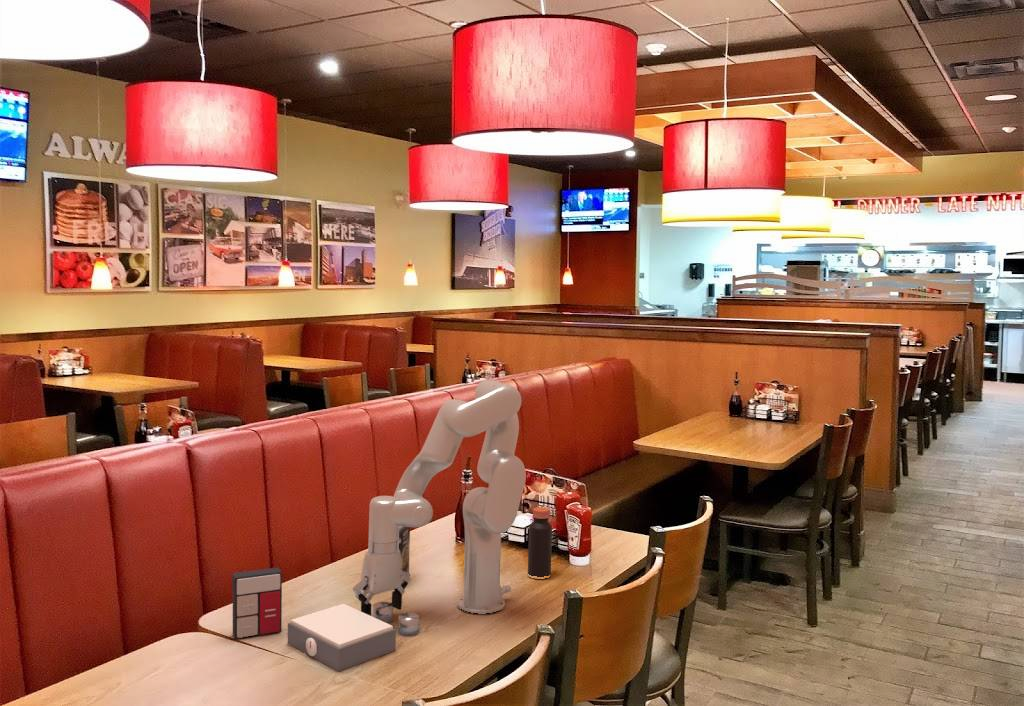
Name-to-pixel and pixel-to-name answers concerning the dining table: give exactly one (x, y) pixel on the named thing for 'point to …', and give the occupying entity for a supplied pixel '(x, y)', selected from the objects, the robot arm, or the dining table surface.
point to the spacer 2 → (408, 624)
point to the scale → (341, 636)
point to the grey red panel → (257, 602)
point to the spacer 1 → (383, 611)
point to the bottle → (540, 543)
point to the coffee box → (404, 547)
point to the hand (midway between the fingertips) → (381, 612)
